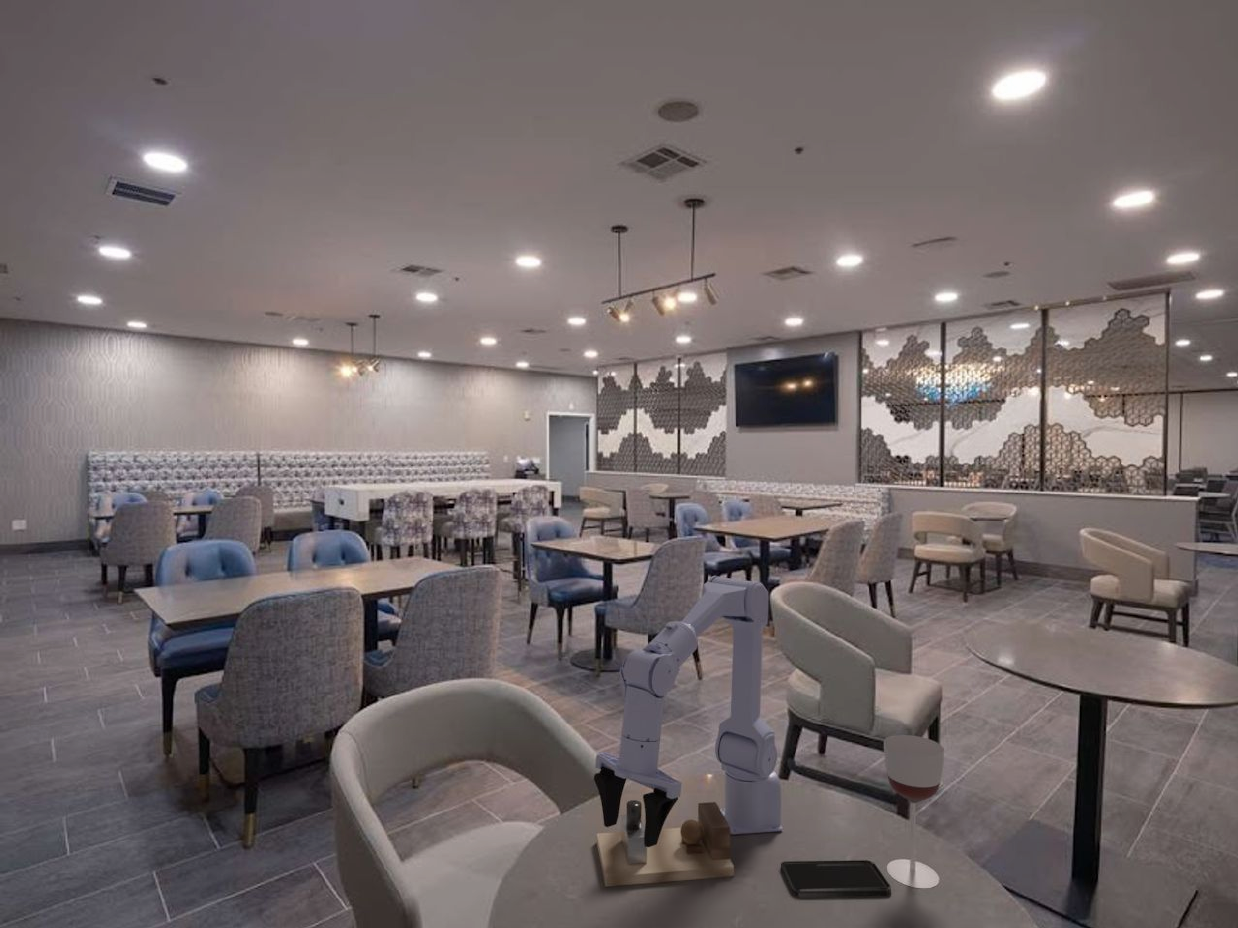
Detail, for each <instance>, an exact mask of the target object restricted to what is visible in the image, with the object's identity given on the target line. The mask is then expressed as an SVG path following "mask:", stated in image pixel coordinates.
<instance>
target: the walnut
mask: <svg viewBox="0 0 1238 928" xmlns="http://www.w3.org/2000/svg"><path fill="white" fill-rule="evenodd" d="M680 828H681V830H680V833H681V837H682V839H683V841H684V842H686V843H687V844H689V845H695V844H697V843H699V842H700V840H701V839H702V835H703V831H702V827H701V825H700V824H699V823H698V820H697V821H696V820H695V819H687V820H685V821H684V822H683V823H682V824H681V826H680Z"/></svg>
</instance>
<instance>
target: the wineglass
mask: <svg viewBox="0 0 1238 928" xmlns="http://www.w3.org/2000/svg"><path fill="white" fill-rule="evenodd" d="M944 749H945V748H944V747H943V745H942V744H940V743H939V742H937V741H935V740H933V739H929V738H927V737H922V736H917V735H910V734H894V735H890V736H887V737H885V738H884V739H883V754H884V764H885V770H886V775H887V780H888V783H889V785H890V787H891V789H892V790H893V791H894V792H895V793H896V794H898V795H899V796H900V797H902V798H904V799H906V800H908V801H909V802H910V806H909V807H910V808H909V811H910V815H909V817H910V829H909V830H910V831H909V833H910V834H909V838H910V840H909V841H910V842H909V843H910V847H909V849H910V850H909V855H910V856H909V859H904V858H903V859H894V860H892V861H890V862H889V863H888V864H887V865H886V870H887V873H888V874H889V875H890V876H891V878H892V879H894V880H895V881H897V882H899V883H900V884H903V885H905V886H909V887H911V888H915V889H916V888H917V889H931V888H933V887H936V886H937V885H938V884H939V883H940V877H939V875H938V873H937V872H936V871H935V870H934V869H932V867H929V865H926V864H924V863H923V862H920V861H916V849H917V847H916V846H917V845H916V840H917V838H916V835H917V834H916V829H917V827H916V824H917V823H916V819H917V816H916V811H917V807H916V806H917V805H916V804H917V802H921V801H925V800H928V799H930V798H932V797H934V795H936V793H937V792H938V790H939V787H940V784H941V779H942V775H943V769H944V756H945V753H944V752H945V751H944Z"/></svg>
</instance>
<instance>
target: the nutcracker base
mask: <svg viewBox="0 0 1238 928" xmlns="http://www.w3.org/2000/svg"><path fill="white" fill-rule="evenodd" d="M697 805H698V806H697V807H698V808H697V811H698V812H697V814H698V816H697V819H698V820H697V822H698V823H699V824H700V825H701V827H702V831H703V835H702V839H701V840H700V842H699V843H697V844H695V845H689V844H687V843H686V842H684V841H683V839H682V837H681V833H680V830H681V827H670V828H662V830H661V833H660V835H659V839H658V842H657V844H656V845H653V846H651V847H647V863H640V864H628V863H627V859H626V855H625V852H624V848H623V844H622V840H621V831H617V832H615V831H614V832H602V833H601V832H600V833H599V832H598V833H596V846H597V852H598V857H599V861H600V865H601V871H602V876H603V880H604V885H605V887H606V888H608V887H618V886H619V887H621V886H633V885H634V886H635V885H643V884H655V883H667V882H680V881H691V880H692V881H693V880H694V881H695V880H705V879H715V878H717V879H718V878H729V877H735V865H734V863H733V862H732V859H731V834H730V826H729V824H728V823H727V821H726V819H725V817H724V816H723V814H722V812H721V811H720V809H721V808H720V807H719V805H718V804H717V802H716V801H711V802H698V804H697Z"/></svg>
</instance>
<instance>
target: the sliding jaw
mask: <svg viewBox="0 0 1238 928" xmlns="http://www.w3.org/2000/svg"><path fill="white" fill-rule="evenodd" d="M642 806H643V805H642V802H641V801H639V800H637V799H635V800H634V799H633V800H629V801H627V802H626V814H622V815H621V818H620V819H621V821H620V822H621V827H620V828H621V829H620V830H621V831H620V832H621V840H622V844H623V848H624V852H625V855H626V859H627V863H628V864H640V863H647V847H646V846H645V845H644V833H645V825H644V823H643V820H642Z"/></svg>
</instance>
